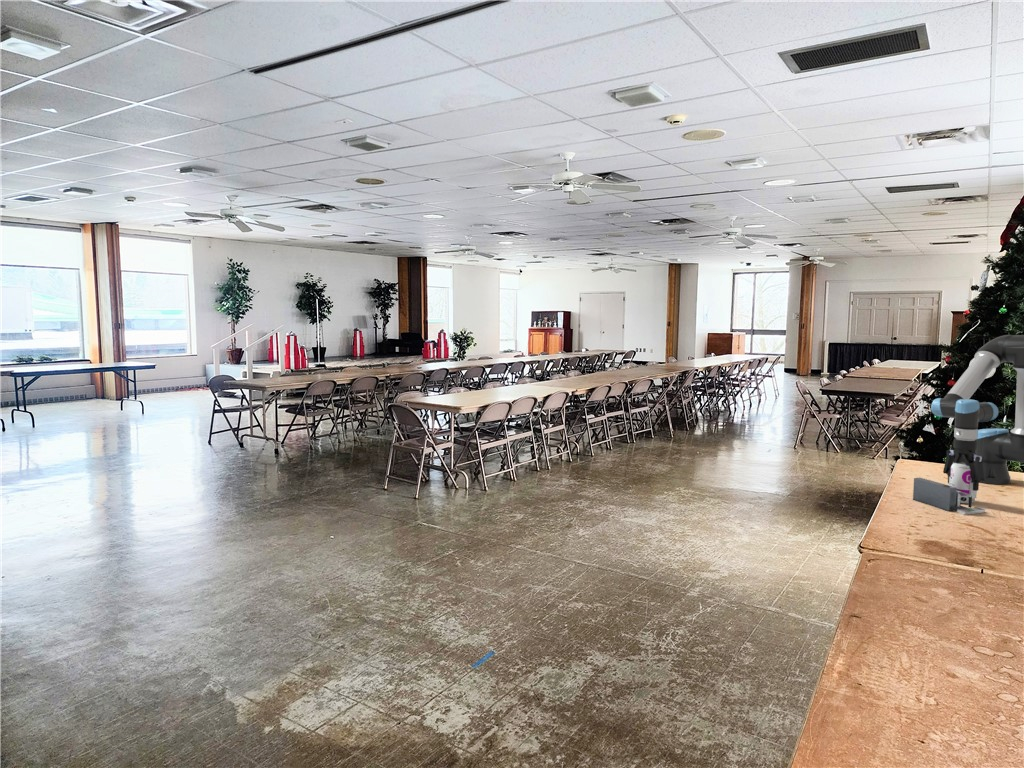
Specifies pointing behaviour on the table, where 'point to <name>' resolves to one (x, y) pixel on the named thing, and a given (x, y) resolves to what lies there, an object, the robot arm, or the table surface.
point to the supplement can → (961, 480)
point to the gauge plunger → (959, 498)
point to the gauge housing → (940, 496)
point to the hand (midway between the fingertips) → (962, 495)
